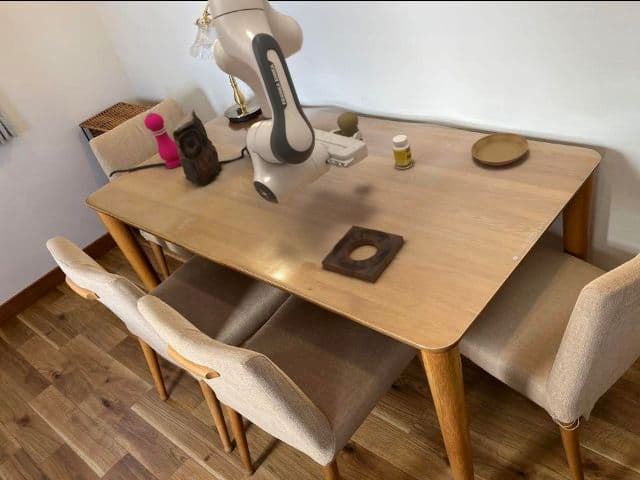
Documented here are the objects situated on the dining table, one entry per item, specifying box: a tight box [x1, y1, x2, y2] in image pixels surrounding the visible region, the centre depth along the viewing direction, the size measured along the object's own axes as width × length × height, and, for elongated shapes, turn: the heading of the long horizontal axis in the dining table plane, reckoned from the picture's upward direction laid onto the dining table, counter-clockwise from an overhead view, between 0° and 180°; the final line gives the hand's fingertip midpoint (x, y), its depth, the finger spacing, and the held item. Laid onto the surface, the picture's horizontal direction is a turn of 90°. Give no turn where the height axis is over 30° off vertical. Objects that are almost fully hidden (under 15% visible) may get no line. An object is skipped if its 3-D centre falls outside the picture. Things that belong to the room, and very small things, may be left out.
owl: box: [172, 109, 222, 187], centre depth 156 cm, size 13×13×20 cm
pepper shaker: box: [336, 111, 364, 141], centre depth 126 cm, size 6×6×11 cm
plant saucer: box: [470, 132, 530, 167], centre depth 134 cm, size 15×15×3 cm
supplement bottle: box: [392, 134, 413, 170], centre depth 139 cm, size 5×5×8 cm
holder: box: [321, 224, 405, 283], centre depth 116 cm, size 14×14×2 cm
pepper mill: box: [143, 109, 181, 169], centre depth 168 cm, size 7×7×20 cm
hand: (352, 131), depth 126 cm, fingers closed on pepper shaker, 4 cm apart
